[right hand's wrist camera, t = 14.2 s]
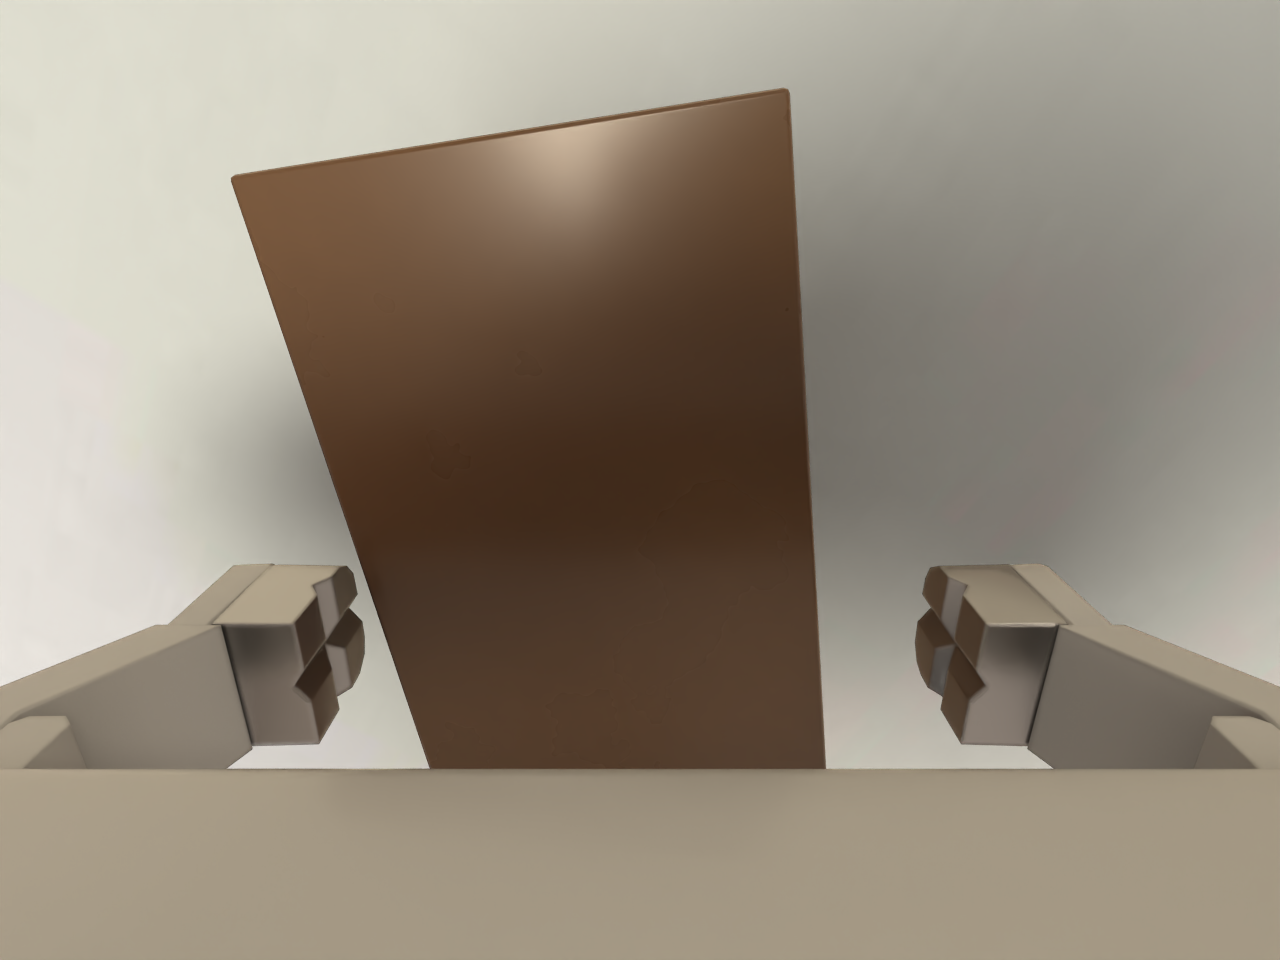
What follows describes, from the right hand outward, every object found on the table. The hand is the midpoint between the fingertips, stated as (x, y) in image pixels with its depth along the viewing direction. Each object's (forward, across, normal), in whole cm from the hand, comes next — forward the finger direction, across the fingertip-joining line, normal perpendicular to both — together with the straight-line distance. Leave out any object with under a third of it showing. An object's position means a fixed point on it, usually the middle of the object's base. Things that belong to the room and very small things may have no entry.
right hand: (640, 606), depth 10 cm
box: (+11, 0, -7) cm, 13 cm away
